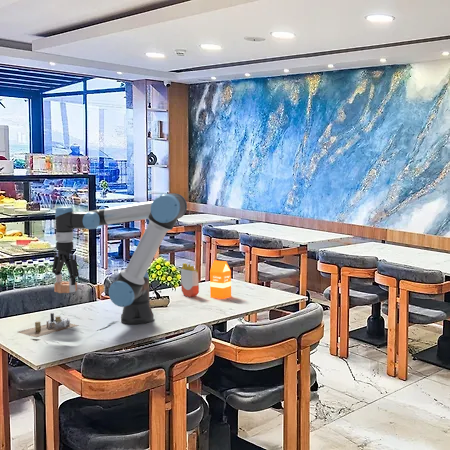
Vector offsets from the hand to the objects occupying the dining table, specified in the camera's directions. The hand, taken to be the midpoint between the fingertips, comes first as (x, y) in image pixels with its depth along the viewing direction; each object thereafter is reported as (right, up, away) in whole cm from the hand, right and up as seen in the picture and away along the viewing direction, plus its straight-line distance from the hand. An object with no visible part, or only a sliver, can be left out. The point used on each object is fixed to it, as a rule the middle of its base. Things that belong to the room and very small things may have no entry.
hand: (65, 290), depth 260 cm
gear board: (-5, -17, -9) cm, 20 cm away
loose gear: (0, 0, 0) cm, 0 cm away
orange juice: (+70, -10, +56) cm, 90 cm away
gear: (-2, -15, -5) cm, 16 cm away
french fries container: (+53, -10, +60) cm, 80 cm away
